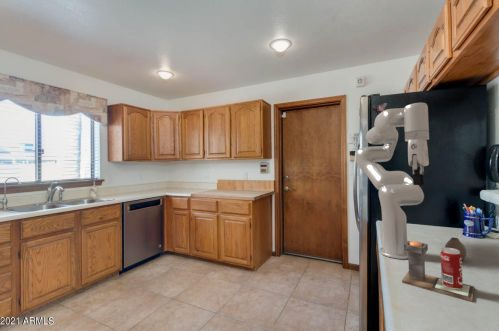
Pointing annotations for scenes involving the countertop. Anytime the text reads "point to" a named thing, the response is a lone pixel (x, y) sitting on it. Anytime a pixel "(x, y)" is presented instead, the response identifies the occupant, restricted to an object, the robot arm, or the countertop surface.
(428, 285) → the activity board
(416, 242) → the button
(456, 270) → the soda can
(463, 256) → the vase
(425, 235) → the countertop surface
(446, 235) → the countertop surface
